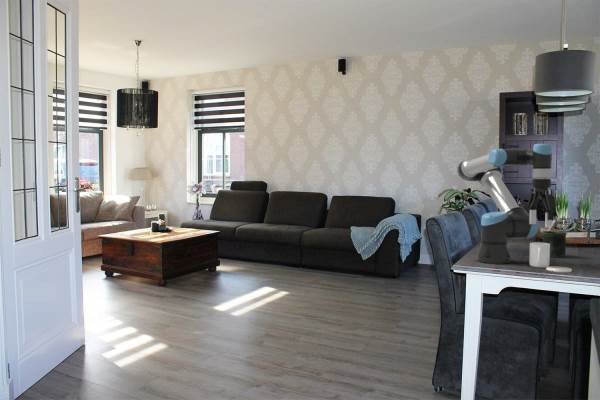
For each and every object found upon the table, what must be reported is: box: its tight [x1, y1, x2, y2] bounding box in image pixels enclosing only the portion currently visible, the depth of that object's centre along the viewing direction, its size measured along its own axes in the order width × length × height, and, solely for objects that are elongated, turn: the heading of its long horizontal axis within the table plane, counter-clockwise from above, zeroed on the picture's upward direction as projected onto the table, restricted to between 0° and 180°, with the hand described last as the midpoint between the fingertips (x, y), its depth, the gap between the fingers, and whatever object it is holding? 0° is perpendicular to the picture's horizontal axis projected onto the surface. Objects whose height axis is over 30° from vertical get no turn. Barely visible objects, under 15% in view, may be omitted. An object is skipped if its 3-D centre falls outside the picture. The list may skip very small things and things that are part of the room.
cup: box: [528, 241, 551, 268], centre depth 230 cm, size 8×12×10 cm
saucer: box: [545, 265, 573, 274], centre depth 221 cm, size 10×10×1 cm
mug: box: [534, 230, 568, 258], centre depth 258 cm, size 11×15×12 cm
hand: (540, 225), depth 229 cm, fingers open, 13 cm apart
